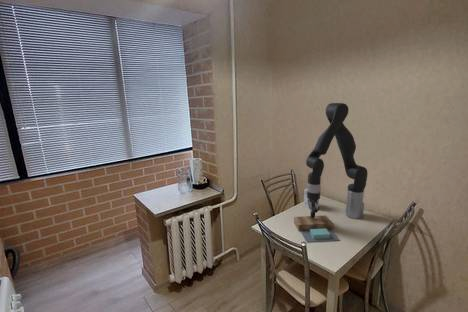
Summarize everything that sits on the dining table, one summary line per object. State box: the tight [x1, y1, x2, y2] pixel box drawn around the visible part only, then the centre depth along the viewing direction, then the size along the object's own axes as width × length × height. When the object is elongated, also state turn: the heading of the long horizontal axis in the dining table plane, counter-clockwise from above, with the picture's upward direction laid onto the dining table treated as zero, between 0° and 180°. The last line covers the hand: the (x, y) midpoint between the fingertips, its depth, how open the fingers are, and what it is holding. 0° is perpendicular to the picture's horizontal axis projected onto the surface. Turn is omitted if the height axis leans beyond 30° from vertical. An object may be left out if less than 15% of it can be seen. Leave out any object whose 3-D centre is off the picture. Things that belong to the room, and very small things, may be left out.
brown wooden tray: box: [293, 214, 334, 232], centre depth 148 cm, size 20×10×4 cm, turn 92°
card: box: [310, 229, 330, 239], centre depth 137 cm, size 9×6×2 cm, turn 92°
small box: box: [303, 187, 320, 209], centre depth 173 cm, size 8×6×13 cm
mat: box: [300, 230, 341, 243], centre depth 138 cm, size 18×11×1 cm, turn 92°
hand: (312, 217), depth 149 cm, fingers closed
